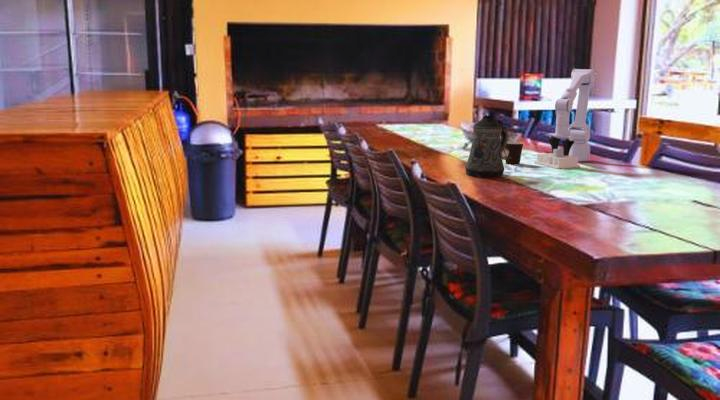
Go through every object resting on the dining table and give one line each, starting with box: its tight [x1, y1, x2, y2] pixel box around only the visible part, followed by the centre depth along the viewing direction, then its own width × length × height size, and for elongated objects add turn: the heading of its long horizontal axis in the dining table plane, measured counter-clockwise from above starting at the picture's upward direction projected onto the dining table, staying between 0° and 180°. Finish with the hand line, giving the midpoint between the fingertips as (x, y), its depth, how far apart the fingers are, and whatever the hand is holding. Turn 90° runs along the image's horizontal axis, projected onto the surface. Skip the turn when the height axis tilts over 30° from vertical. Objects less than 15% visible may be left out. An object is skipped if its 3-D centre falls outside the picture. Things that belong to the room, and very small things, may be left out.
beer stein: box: [464, 115, 509, 179], centre depth 288 cm, size 16×19×25 cm
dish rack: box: [534, 152, 581, 170], centre depth 315 cm, size 13×16×4 cm
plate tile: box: [552, 147, 566, 157], centre depth 313 cm, size 7×2×7 cm, turn 114°
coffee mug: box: [504, 141, 524, 166], centre depth 319 cm, size 12×9×10 cm
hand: (560, 154), depth 313 cm, fingers open, 7 cm apart
